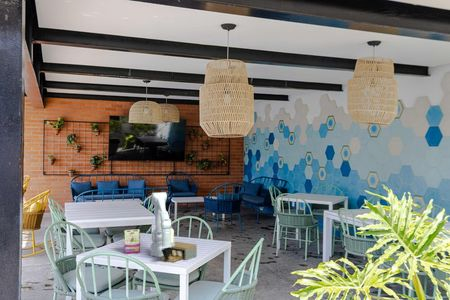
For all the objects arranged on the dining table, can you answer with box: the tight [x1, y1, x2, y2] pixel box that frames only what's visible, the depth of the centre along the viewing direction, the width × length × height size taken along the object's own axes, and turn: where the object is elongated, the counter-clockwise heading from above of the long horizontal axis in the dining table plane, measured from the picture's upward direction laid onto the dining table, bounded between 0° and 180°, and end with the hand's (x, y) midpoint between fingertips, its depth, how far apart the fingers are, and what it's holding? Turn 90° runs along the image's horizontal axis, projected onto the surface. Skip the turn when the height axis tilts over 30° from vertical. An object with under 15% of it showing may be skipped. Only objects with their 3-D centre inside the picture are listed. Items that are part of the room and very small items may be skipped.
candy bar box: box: [123, 228, 141, 255], centre depth 301 cm, size 11×5×16 cm, turn 101°
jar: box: [159, 227, 175, 243], centre depth 331 cm, size 12×10×15 cm
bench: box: [170, 241, 198, 261], centre depth 289 cm, size 18×12×8 cm, turn 58°
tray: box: [161, 249, 185, 263], centre depth 283 cm, size 10×14×5 cm
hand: (166, 259), depth 276 cm, fingers closed
